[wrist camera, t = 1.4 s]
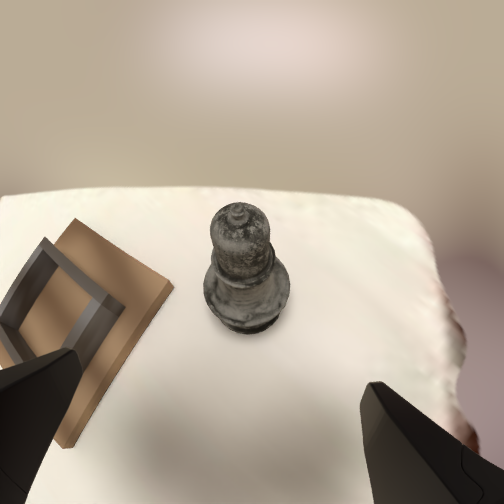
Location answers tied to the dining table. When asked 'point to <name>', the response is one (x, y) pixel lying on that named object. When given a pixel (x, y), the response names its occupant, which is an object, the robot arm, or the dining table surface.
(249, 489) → the dining table surface
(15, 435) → the robot arm
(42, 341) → the collar holder
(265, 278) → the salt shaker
